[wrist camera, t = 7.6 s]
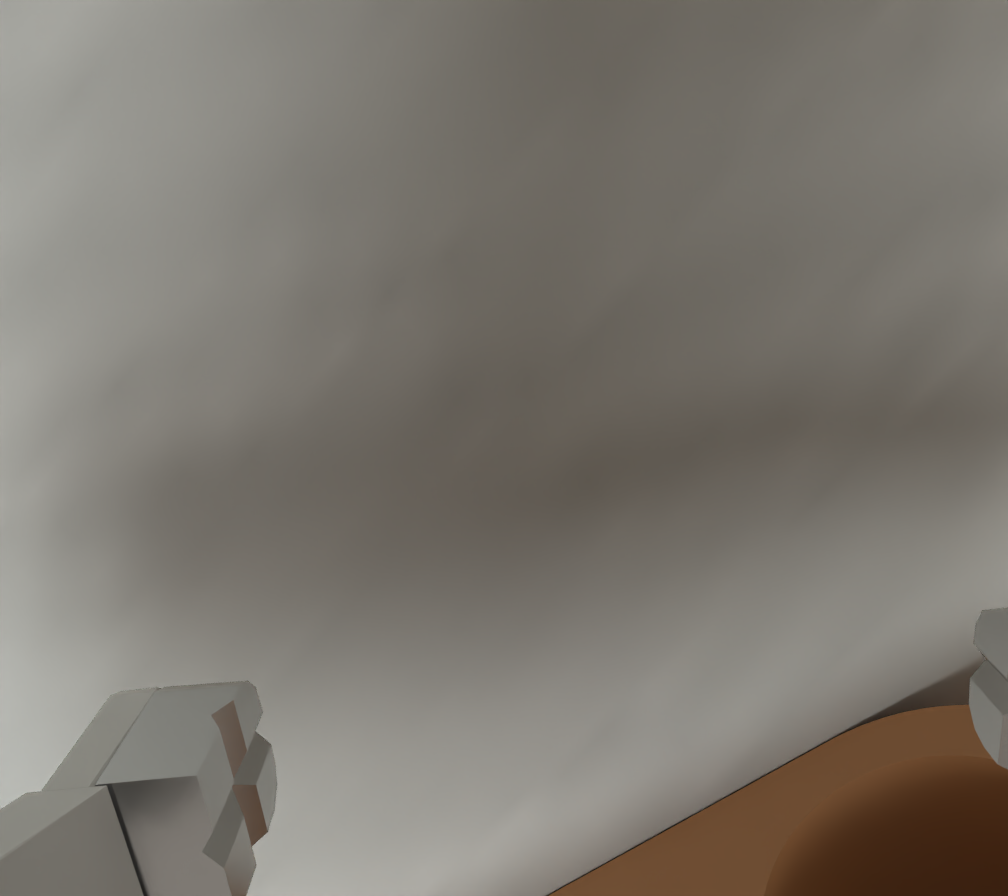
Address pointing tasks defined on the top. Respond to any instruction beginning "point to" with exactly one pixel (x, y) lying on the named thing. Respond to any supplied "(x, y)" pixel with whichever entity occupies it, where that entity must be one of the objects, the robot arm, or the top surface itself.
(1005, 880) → the tan piece
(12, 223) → the top surface
